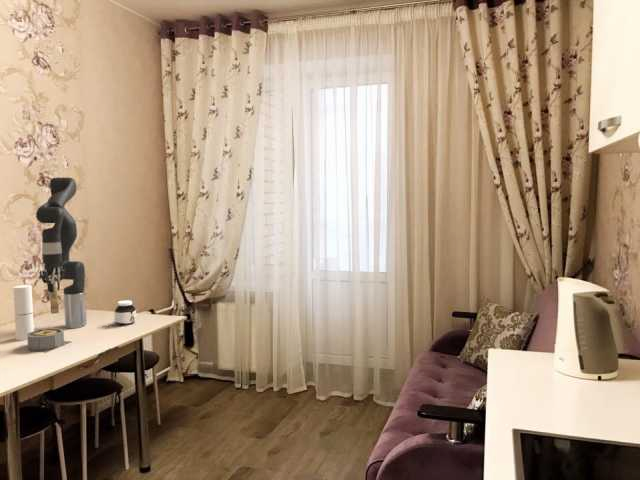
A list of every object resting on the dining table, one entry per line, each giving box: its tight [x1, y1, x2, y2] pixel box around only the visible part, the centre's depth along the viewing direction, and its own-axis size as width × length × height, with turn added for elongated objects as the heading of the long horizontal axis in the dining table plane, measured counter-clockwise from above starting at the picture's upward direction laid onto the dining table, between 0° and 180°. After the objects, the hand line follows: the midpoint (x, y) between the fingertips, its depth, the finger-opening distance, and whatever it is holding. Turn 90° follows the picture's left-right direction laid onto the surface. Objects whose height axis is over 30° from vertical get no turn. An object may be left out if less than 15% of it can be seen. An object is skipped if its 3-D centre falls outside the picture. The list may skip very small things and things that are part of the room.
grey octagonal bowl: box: [26, 327, 65, 351], centre depth 218 cm, size 14×14×6 cm
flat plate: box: [18, 340, 73, 353], centre depth 218 cm, size 16×14×1 cm
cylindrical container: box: [13, 284, 35, 342], centre depth 228 cm, size 7×7×25 cm
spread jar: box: [114, 300, 137, 327], centre depth 260 cm, size 12×11×12 cm
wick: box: [49, 280, 60, 314], centre depth 220 cm, size 3×3×14 cm
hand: (53, 291), depth 220 cm, fingers closed on wick, 3 cm apart
